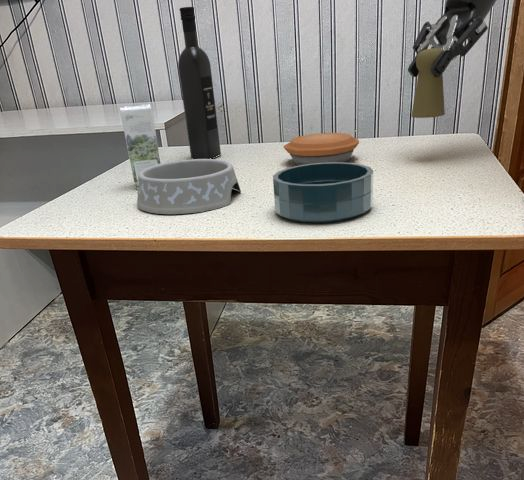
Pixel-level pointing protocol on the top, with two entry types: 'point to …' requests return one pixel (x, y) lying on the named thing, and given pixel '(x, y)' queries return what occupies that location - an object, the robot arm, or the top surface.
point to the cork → (428, 87)
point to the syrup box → (140, 138)
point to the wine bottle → (197, 93)
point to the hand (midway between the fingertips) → (422, 73)
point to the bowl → (323, 191)
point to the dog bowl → (186, 186)
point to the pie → (321, 148)
